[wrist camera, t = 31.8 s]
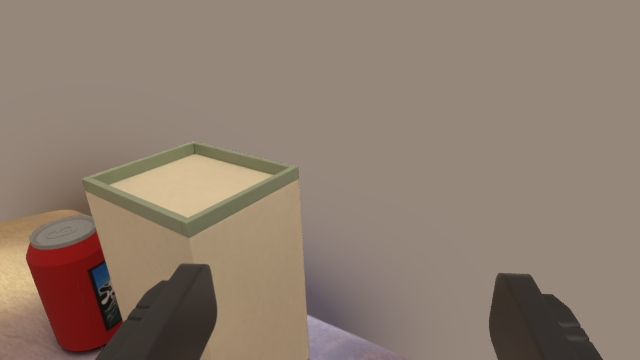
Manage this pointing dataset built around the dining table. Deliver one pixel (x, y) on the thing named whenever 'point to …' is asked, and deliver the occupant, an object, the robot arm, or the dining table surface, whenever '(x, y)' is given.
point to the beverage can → (74, 282)
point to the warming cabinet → (210, 241)
